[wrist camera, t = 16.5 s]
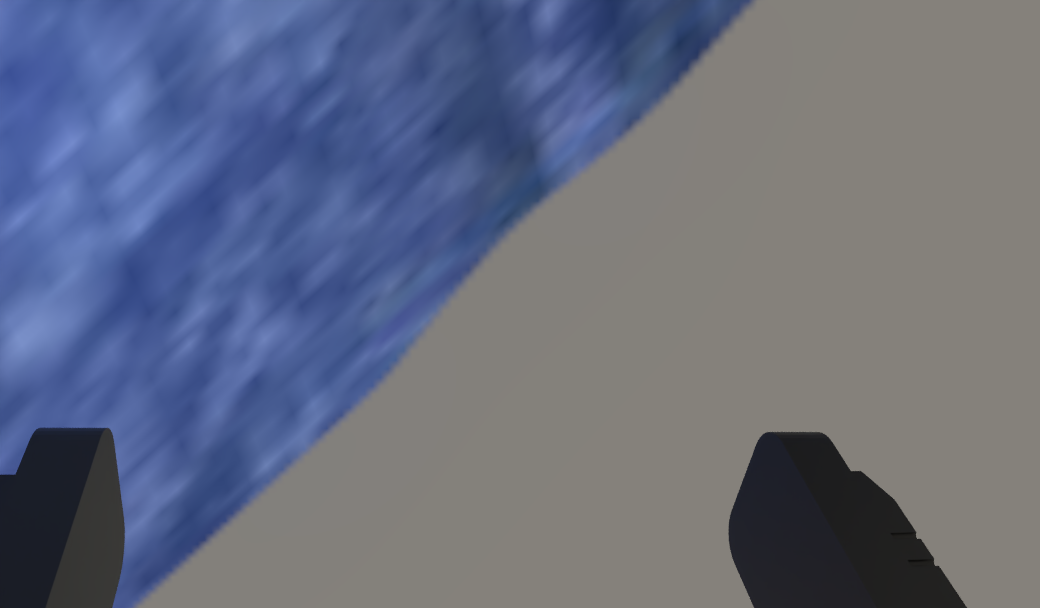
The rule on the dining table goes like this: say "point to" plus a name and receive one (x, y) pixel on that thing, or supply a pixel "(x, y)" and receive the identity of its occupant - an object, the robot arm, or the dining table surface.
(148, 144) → the dining table surface
